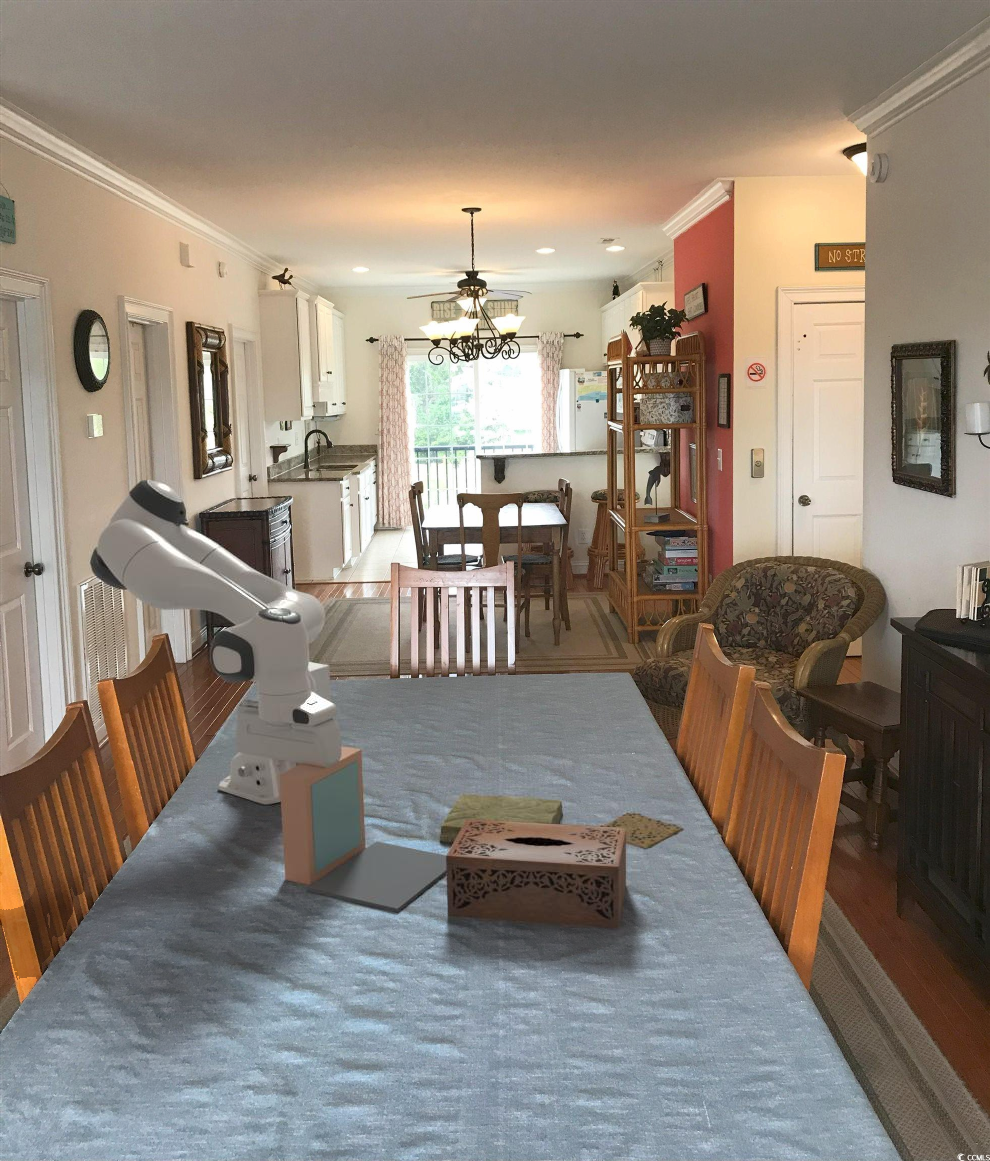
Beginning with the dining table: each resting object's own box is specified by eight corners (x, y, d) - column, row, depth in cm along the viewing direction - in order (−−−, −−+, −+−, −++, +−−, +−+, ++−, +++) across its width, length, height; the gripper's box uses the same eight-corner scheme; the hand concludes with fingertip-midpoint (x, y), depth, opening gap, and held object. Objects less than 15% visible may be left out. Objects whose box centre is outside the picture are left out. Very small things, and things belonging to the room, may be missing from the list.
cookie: (590, 833, 195) (590, 828, 195) (631, 814, 204) (631, 809, 204) (645, 852, 187) (645, 846, 187) (685, 831, 196) (685, 826, 195)
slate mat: (307, 891, 174) (307, 887, 174) (376, 844, 191) (376, 841, 191) (397, 912, 166) (397, 908, 166) (461, 861, 184) (461, 858, 183)
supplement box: (306, 719, 266) (303, 660, 264) (333, 725, 261) (330, 664, 259) (279, 729, 259) (276, 668, 257) (306, 735, 254) (303, 673, 251)
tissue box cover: (447, 918, 165) (446, 855, 163) (468, 876, 179) (466, 818, 177) (618, 931, 160) (618, 867, 158) (625, 887, 174) (626, 828, 172)
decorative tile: (459, 807, 209) (459, 790, 208) (563, 813, 205) (563, 795, 204) (434, 847, 191) (434, 828, 190) (547, 855, 187) (547, 835, 186)
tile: (285, 879, 178) (279, 774, 175) (341, 843, 192) (337, 745, 189) (311, 885, 176) (305, 779, 173) (366, 848, 190) (362, 749, 187)
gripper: (224, 703, 184) (230, 780, 187) (321, 717, 175) (325, 799, 177) (249, 693, 190) (254, 769, 192) (344, 707, 180) (348, 786, 182)
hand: (289, 784), depth 184 cm, fingers closed
